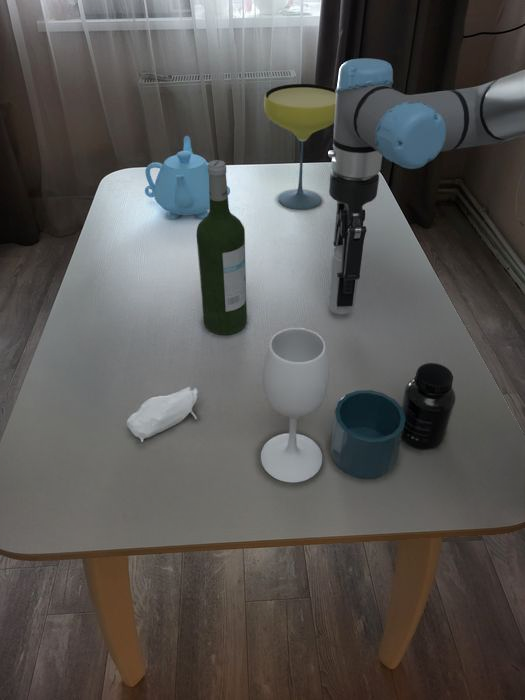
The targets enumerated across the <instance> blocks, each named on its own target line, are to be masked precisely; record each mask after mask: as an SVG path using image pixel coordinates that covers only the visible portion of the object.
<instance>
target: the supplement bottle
mask: <svg viewBox="0 0 525 700" xmlns="http://www.w3.org/2000/svg"><path fill="white" fill-rule="evenodd" d="M453 382H454V375H453V373H452V371H451V370H450V369H449V368H448V367H447V366H445V365H442V364H440V363H435V362H426V363H424V364H420V366H418V368H417V369H416V373H415V376H414V377H413V378H412V379H411V380H409V381H408V382H407V384H406V386H405V388H404V392H403V397H402V400H401V401H402V402H401V405H400V406H401V407H402V408H403V411H404V414H405V418H406V420H405V425H404V429H403V433H402V437H401V441H403V442H404V443H405V444H406V445H408V446H410V447H411V448H414V449H418V450H431V449H435V448H437V447H438V446H439V445H441V443H443V441H444V439H445V436H446V433H447V430H448V426H449V423H450V420H451V418H452V417H451V416H452V413H453V411H454V410H453V409H454V406H455V403H456V393H455V390H454V388H453Z"/></svg>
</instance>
